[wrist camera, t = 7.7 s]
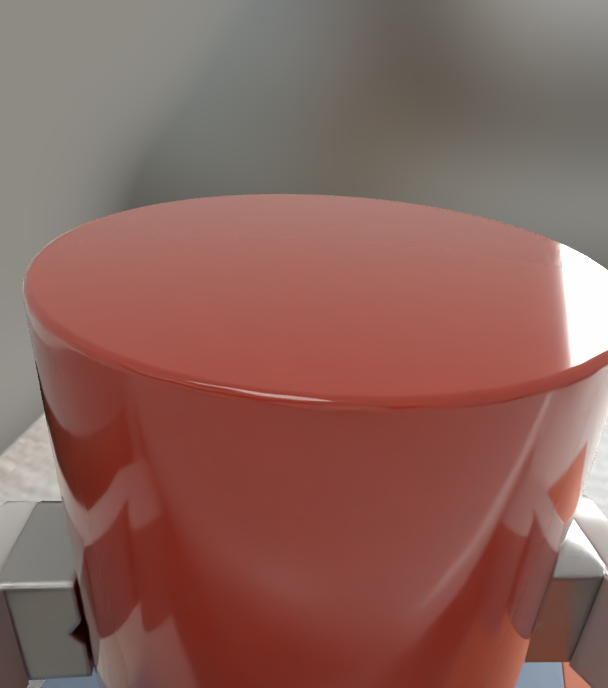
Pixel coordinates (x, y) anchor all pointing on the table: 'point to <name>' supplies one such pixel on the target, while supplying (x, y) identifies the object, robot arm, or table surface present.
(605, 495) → the table surface
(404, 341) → the red upright cylinder
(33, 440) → the table surface
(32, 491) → the table surface
